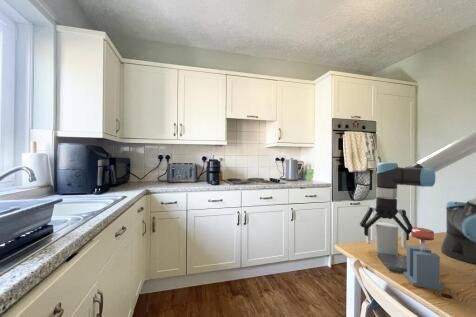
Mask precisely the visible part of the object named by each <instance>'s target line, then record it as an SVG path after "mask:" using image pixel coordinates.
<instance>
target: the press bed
mask: <svg viewBox="0 0 476 317" xmlns="http://www.w3.org/2000/svg"><path fill="white" fill-rule="evenodd" d="M377 257H378V259H379V260H380V261H381V262H382V264H383V265H384V266H385V267H386V269H387V271H389V272H395V273H402V274H403V272H407V255H399V254H398V255H392V254H383V253H378V252H377Z"/></svg>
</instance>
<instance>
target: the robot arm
mask: <svg viewBox="0 0 476 317" xmlns="http://www.w3.org/2000/svg"><path fill="white" fill-rule="evenodd" d="M474 153H476V129H474V130H473V131H470V132H469V133H467V134H465V135H463V136H462V137H460V138H458V139H455V141H452V142H450V143H449V144H446V145H445V146H444V147H441V148H439V149H438V150H436V151H434V152H432V153H430V154H429V155H427V156H425V157H423V158H421V159H420V160H418V161H416V162H414V163H413V164H410V165H408V166H405V167H399V164H398V163H397V162H379V163H378V164H377V168H376V196H377V197H376V206H375V207H371V205H370V206H367V212H365V214H364V216H363V218H362V219H361V221H360V222H359V226H360V227H361V228H363V234H364V236H365V237H366V239H365V241H366V244H368V245H370V244H371V229H370V227H372V226H373V225H375V224H376V223H377V221H379V220H380V219H384V220H385V219H387V220H392V219H393V220H394V221H395V222H396V224H397V226H398V227H400V228H401V229H402V231H401V237H400V238H401V242H400V244H401V245H400V246H401V247H402V248H403V249H407V241H409V240H410V234H411V233H412V228H414V227H413V225H412V223H411V221H410V220H409V218H408V216H407V212H406V210H405V209H404V208H400V209H398V208H397V207H398V199H397V198H398V186H412V187H422V188H424V187H430V188H431V187H434V186H435V183H436V173H437V172H439V171H440V170H443V169H445V168H447V167H448V166H450V165H451V166H452V165H453V164H455V163H457V162H459V161H461V160H463V159H464V158H467V157H468V156H470V155H473V154H474ZM445 209H446V235H445V237H444V239H443V241H442V243H441V245H440V251H441V253H442V254H444V255H446V256H447V257H450V258H453V259H456V260H459V261H462V262H467V263H471V264H476V197H475V198H472V199H468V200H467V201H465V202H463V201H462V202H461V201H453V200H452V201H448V202H447V203H446V207H445ZM374 212H376V213H375V214H374V216H372V214H373V213H374ZM397 214H399V215H400V216H401V218H402V220H403V223H405V225H406V226H405V225H404V224H403V223H402V221H401V220H400V219H399V217H397V216H396V215H397ZM371 216H372V217H371ZM370 217H371V218H370Z"/></svg>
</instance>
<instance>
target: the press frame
mask: <svg viewBox="0 0 476 317" xmlns="http://www.w3.org/2000/svg"><path fill="white" fill-rule="evenodd" d="M406 256H407V272H403V273H402V275H403V276H404V277H405V278H406V279H407V281H408V282H409V283H410V284H411V286H413V287H419V288H424V289H425V288H426V289H431V290H432V289H433V290H440V291H444V290H445V289H444V286H443V285H442V284H441V283H440V281H441V280H440V279H441V278H440V277H441V274H440V272H441V270H440V268H441V261H440V260H441V259H440V258H441V257H440V255H438V254H437V253H436V252H432V249H430V248H428V247H426V246H425V252H420V246H416V245H415V246H414V245H406Z"/></svg>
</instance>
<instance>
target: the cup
mask: <svg viewBox="0 0 476 317" xmlns="http://www.w3.org/2000/svg"><path fill="white" fill-rule="evenodd" d="M374 237H375V239H374V240H375V242H374V244H375V246H374V248H375V252H377V254H378V253H383V254H392V255H399V252H398V251H399V225H396V224H393V223H389V222H383V221H382V222H379V221H378V222H375V236H374Z"/></svg>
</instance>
